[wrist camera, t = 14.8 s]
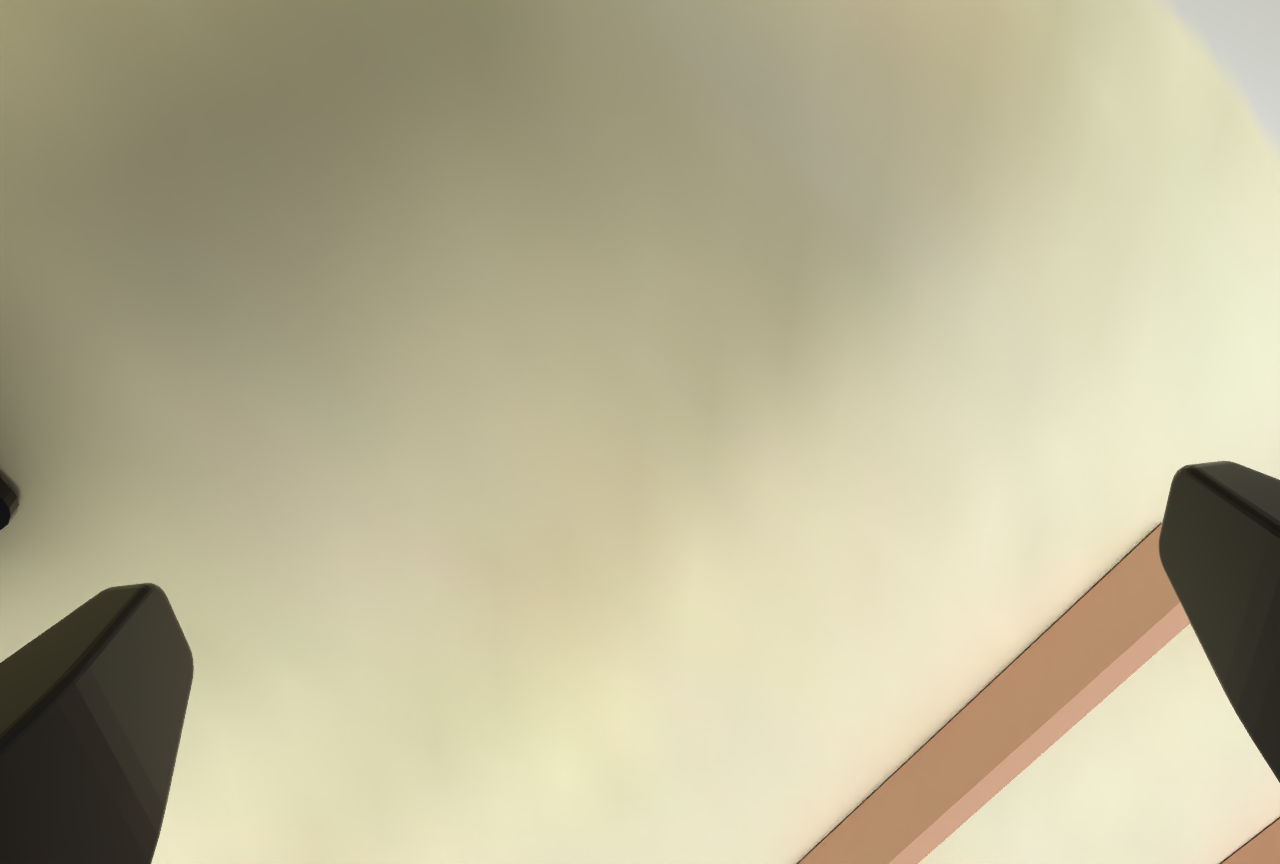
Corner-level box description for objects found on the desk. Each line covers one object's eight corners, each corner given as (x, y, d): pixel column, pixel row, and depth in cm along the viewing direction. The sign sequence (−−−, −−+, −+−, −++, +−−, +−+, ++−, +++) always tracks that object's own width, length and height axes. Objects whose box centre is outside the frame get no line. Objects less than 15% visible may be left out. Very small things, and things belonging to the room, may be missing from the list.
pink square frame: (790, 870, 29) (811, 932, 28) (1162, 523, 25) (1214, 571, 23) (1086, 983, 35) (1117, 1040, 34) (1429, 720, 31) (1487, 770, 29)
